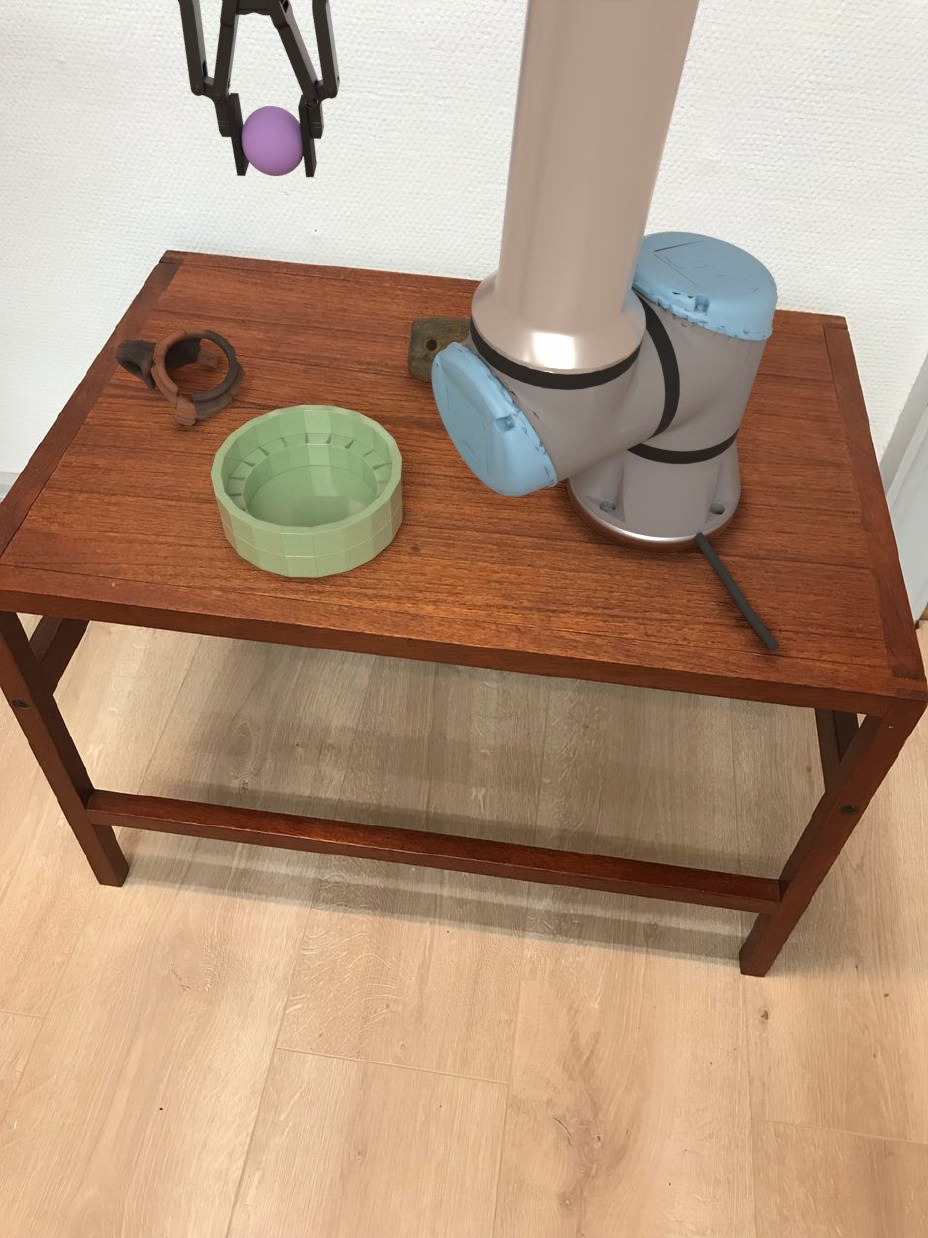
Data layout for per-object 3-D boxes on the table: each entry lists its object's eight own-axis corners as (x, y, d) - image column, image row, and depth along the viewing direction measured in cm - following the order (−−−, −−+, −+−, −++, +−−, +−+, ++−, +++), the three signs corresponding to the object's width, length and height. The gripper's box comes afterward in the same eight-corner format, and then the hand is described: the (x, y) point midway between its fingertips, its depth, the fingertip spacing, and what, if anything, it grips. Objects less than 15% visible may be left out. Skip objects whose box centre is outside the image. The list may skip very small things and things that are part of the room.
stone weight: (406, 402, 96) (404, 344, 90) (412, 358, 100) (411, 300, 95) (559, 410, 95) (567, 352, 90) (559, 365, 100) (565, 308, 94)
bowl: (398, 586, 81) (396, 535, 76) (209, 581, 81) (195, 531, 76) (407, 458, 91) (405, 406, 86) (238, 454, 90) (228, 402, 86)
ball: (304, 188, 93) (297, 124, 89) (242, 186, 93) (231, 122, 89) (311, 158, 97) (305, 95, 92) (251, 156, 97) (241, 93, 92)
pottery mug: (248, 363, 100) (252, 326, 92) (234, 450, 98) (237, 419, 90) (125, 338, 97) (119, 296, 89) (108, 426, 95) (100, 392, 87)
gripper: (361, -132, 79) (377, 153, 97) (129, -137, 79) (187, 149, 97) (354, -104, 75) (371, 190, 93) (106, -109, 75) (172, 186, 93)
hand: (277, 169), depth 95 cm, fingers closed on ball, 6 cm apart
